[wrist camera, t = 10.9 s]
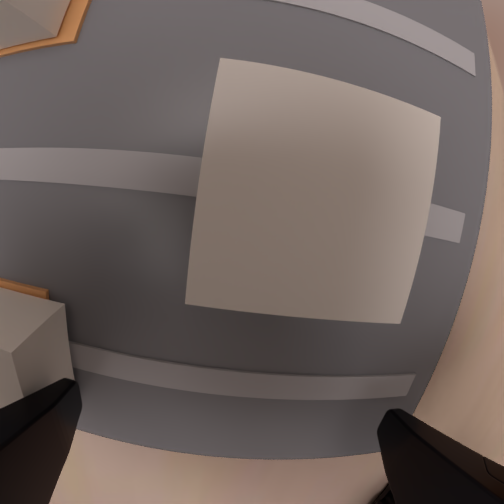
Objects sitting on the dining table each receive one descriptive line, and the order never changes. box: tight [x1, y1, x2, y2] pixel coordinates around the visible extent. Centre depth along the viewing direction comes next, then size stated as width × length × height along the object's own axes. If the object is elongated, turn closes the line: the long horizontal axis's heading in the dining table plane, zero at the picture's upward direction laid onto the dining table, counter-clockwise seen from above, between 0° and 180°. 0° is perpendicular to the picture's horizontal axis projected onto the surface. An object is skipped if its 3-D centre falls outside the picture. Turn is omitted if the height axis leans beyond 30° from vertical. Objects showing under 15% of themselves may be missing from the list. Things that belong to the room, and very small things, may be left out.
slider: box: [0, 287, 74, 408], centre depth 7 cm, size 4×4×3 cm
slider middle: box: [185, 58, 441, 324], centre depth 6 cm, size 4×4×3 cm
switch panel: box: [0, 0, 492, 459], centre depth 9 cm, size 20×20×2 cm
